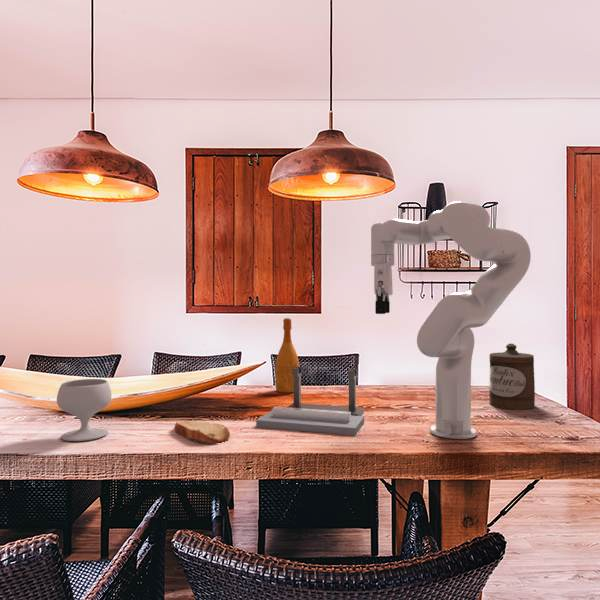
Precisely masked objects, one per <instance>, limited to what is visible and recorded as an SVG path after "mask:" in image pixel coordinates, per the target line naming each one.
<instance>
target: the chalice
mask: <svg viewBox="0 0 600 600" xmlns="http://www.w3.org/2000/svg"><path fill="white" fill-rule="evenodd" d="M111 400H112V391H111V387H110V384H109V382H108V381H107V380H106V379H101V378H86V379H85V378H83V379H74V380H70V381H65V382H62V383H61V385H60V386H59V388H58V390H57V396H56V404H57V406H58V408H59V409H60V410H61V411H64V412H65V413H67V414H70V415H73V416H75V417H76V418H77V419H79V421H80V428H79V429H75V430H74V429H73V430H70V431H68V432H65V433H63V434H62V435H61V436H60V440H63V441H66V442H67V441H68V442H85V441H92V440H96V439H99V438H103V437H106V436H107V435H108V434H109V431H108V430H107V429H104V428H95V427H92V428H91V427H90V426H89V422H90V419H91V418H92V417H93V416H94V415H95V414H97V413H99V412H100V411H102V410H103V409H105V408H106V407H107V406H108V405H109V404H110V403H111V402H112V401H111Z"/></svg>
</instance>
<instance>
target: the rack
mask: <svg viewBox="0 0 600 600" xmlns="http://www.w3.org/2000/svg"><path fill="white" fill-rule="evenodd" d="M357 371H358V369H357V368H350V370H347V379H348V406H345V405H330V404H329V405H328V404H316V403H315V404H313V403H302V375H303V367H302V366H299V367H296V368H292V376H293V377H294V392H293V402H292V403H291V404H290V405H288V406H287V407H290V408H304V409H318V410H332V411H346V412H351V415H352V416H361V415H362V416H363V415H364V413H365V407H359V406H357V378H358V377H357V375H358V373H357Z"/></svg>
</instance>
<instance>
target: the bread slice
mask: <svg viewBox="0 0 600 600" xmlns="http://www.w3.org/2000/svg"><path fill="white" fill-rule="evenodd" d="M174 430H175V431H174ZM173 431H174V432H175V433H176V434H178V435H180V436H181V435H182V437H183V438H185V437H186V438H185V439H187V438H188V439H187V440H190V441H193V440H194V442H196V441H197V442H196V443H201V442H202V444H204V443H208V444H207V445H217V444H216V443H222V442H224V443H226V442H225V441H227V442H228V441H229V438H230V436H231V434H230V430H229V428H228V427H227V426H225V425H224V424H220V423H215V422H214V423H213V422H206V421H205V422H204V421H176V423H175V424H174V427H173ZM214 443H215V444H214ZM222 444H223V443H222Z"/></svg>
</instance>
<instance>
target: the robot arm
mask: <svg viewBox="0 0 600 600" xmlns="http://www.w3.org/2000/svg"><path fill="white" fill-rule="evenodd" d="M490 222H491V217H490V214H489V212H488V209H486V208H485V207H483V206H481V205H478V204H475V203H469V202H466V201H465V202H464V201H452V202H450V203H449V204H447V205H445V206H444V207H443V208H442V209H441V210H436V211H435V210H434V211H433V212H431V213H430V214H429V216H428V219H426V220H421V221H420V220H417V221H415V220H414V221H413V220H408V219H407V220H406V219H400V218H398V219H397V218H393V219H389V220H386V221H383V222H376V223H373V224H372V226H371V227H370V263H371V264H370V266H372V267H374V268H373V270H374V271H373V273H374V274H373V277H374V278H373V285H374V287H373V288H374V289H373V290H374V291H373V292H374V295H375V308H374V309H375V311H374V312H375V314H376V315H385V314H389V313H390V312H391V311H390V305H391V304H390V296H392V295H393V272H392V271H393V270H392V267H393V266H395V244H397V245H398V244H399V245H407V246H408V245H410V246H416V245H425V244H426V245H427V244H433V243H436V242H437V243H438V242H439V241H446V240H453V241H454V242H455V243H456V244H457V245H458V247H460V248H461V249H462V250H463V251H464V252H465V253H467V254H468V256H470V257H471V258H472V259H475V260H477V261H479V262H480V261H482V262H491V263H493V264H492V265H491V267H489V268H488V269H487V270H486V271H484V272H483V273H482V274H481V275H480V277H478V279H477V281H476V282H475V283H474V284H473V285H472V287H471V288H470V289H469V290H468V291H465V292H461V291H459V292H452V293H449V294H447V295H446V296H444V297H442V298H441V299H440V301H439V302H438V303H437V304H436V305H435V307H434V308H433V310H432V311H431V312H430V314H429V315H428V316H427V318H426V319H425V321H424V322H423V324H422V325H421V327H420V328H419V330H418V333H417V336H416V344H417V348H418V350H419V352H420V353H422V354H423V356H426V357H428V358H438V359H437V362H436V366H435V424H433V425H431V426H430V427H429V432H430V433H431V434H432V435H434V436H436V437H441V438H445V439H452V440H453V439H454V440H467V439H472V438H475V437H476V436H477V429H475V428H474V427H472V426H471V425H472V424H471V423H472V421H471V420H472V419H471V418H472V409H471V408H472V397H471V396H472V393H471V391H472V387H471V386H472V360H473V353H474V349H475V348H474V347H475V335H474V332H473V330H472V329H473V328H474V329H475V328H479V327H482V326H484V325H486V324H487V323H488V322H489V321H490V319H492V317H493V315H495V313H496V312H497V310H498V309H499V308H500V307H501V306H502V304H503V303H504V302H505V300H506V299H507V298H508V297H509V295H510V294H511V293H512V292H513V291H514V289H515V288H516V287H517V286H518V285H519V284H520V282H521V281H522V280H523V278H524V277H525V275H526V274H527V272H528V269H529V267H530V265H531V264H530V263H531V249H530V245H529V243H528V241H527V240H526V238H525V237H524V236H523V235H522V234H520V233H518V232H517V231H514V230H509V229H504V228H497V227H490V226H489V225H490Z"/></svg>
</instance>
